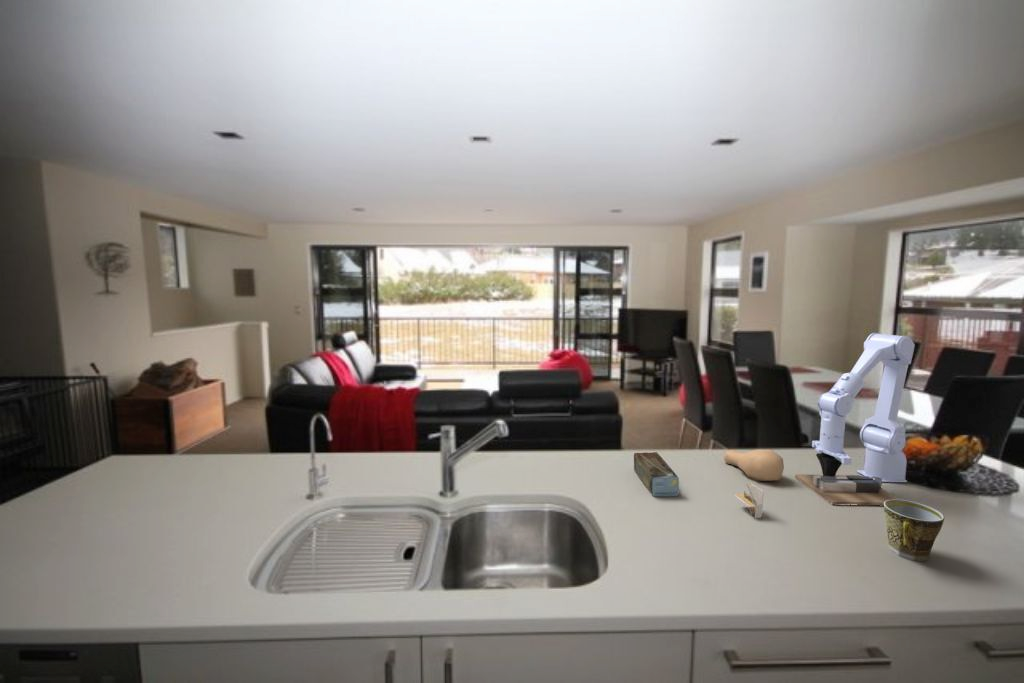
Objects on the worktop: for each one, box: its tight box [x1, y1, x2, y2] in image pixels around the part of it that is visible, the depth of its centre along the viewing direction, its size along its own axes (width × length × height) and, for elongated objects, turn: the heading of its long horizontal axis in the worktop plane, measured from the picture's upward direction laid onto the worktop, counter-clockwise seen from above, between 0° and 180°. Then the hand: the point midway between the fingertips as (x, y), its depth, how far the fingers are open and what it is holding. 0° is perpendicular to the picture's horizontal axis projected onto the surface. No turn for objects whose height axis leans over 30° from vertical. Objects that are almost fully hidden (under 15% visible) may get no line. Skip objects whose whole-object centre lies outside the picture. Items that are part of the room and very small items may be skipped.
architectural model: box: [734, 481, 764, 519], centre depth 120 cm, size 3×7×7 cm, turn 5°
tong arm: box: [813, 475, 883, 489], centre depth 132 cm, size 18×2×3 cm, turn 84°
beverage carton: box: [633, 451, 680, 497], centre depth 138 cm, size 8×19×7 cm, turn 1°
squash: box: [723, 448, 785, 482], centre depth 144 cm, size 11×20×9 cm, turn 21°
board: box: [794, 473, 902, 507], centre depth 131 cm, size 19×18×1 cm
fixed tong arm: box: [819, 480, 879, 493], centre depth 129 cm, size 15×2×3 cm, turn 87°
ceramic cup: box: [883, 499, 945, 562], centre depth 100 cm, size 13×10×10 cm
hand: (828, 478), depth 135 cm, fingers closed
